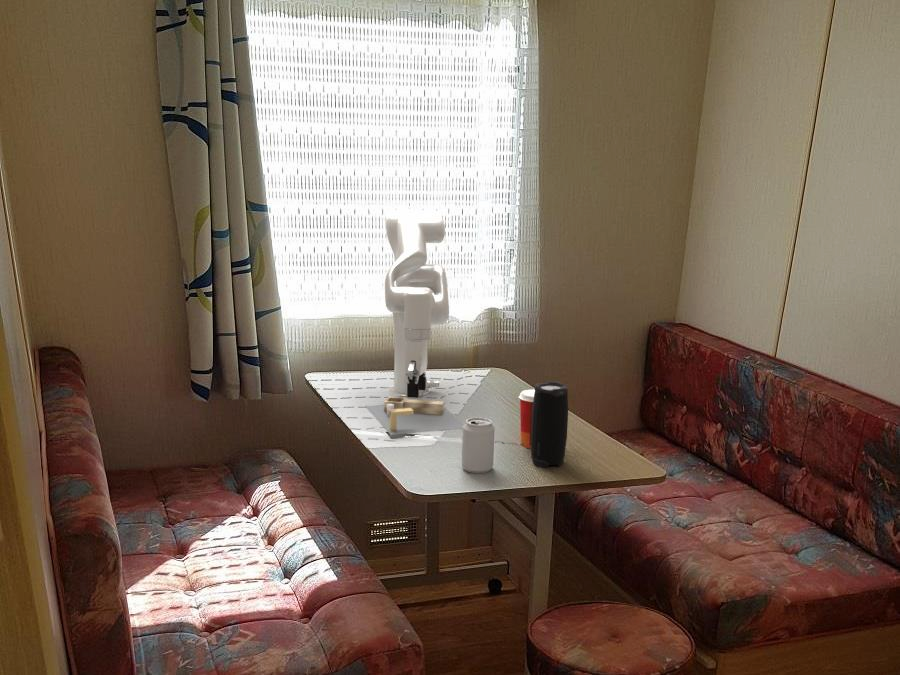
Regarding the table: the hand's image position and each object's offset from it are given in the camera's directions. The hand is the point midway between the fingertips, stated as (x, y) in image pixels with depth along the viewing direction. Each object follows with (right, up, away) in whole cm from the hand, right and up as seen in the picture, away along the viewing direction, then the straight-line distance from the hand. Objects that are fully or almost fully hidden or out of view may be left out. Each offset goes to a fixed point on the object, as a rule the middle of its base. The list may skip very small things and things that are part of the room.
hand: (416, 393), depth 231 cm
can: (+16, -15, -39) cm, 45 cm away
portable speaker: (+33, -15, -34) cm, 50 cm away
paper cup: (+31, -12, -21) cm, 39 cm away
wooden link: (-1, -5, +2) cm, 6 cm away
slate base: (0, -7, -3) cm, 8 cm away
